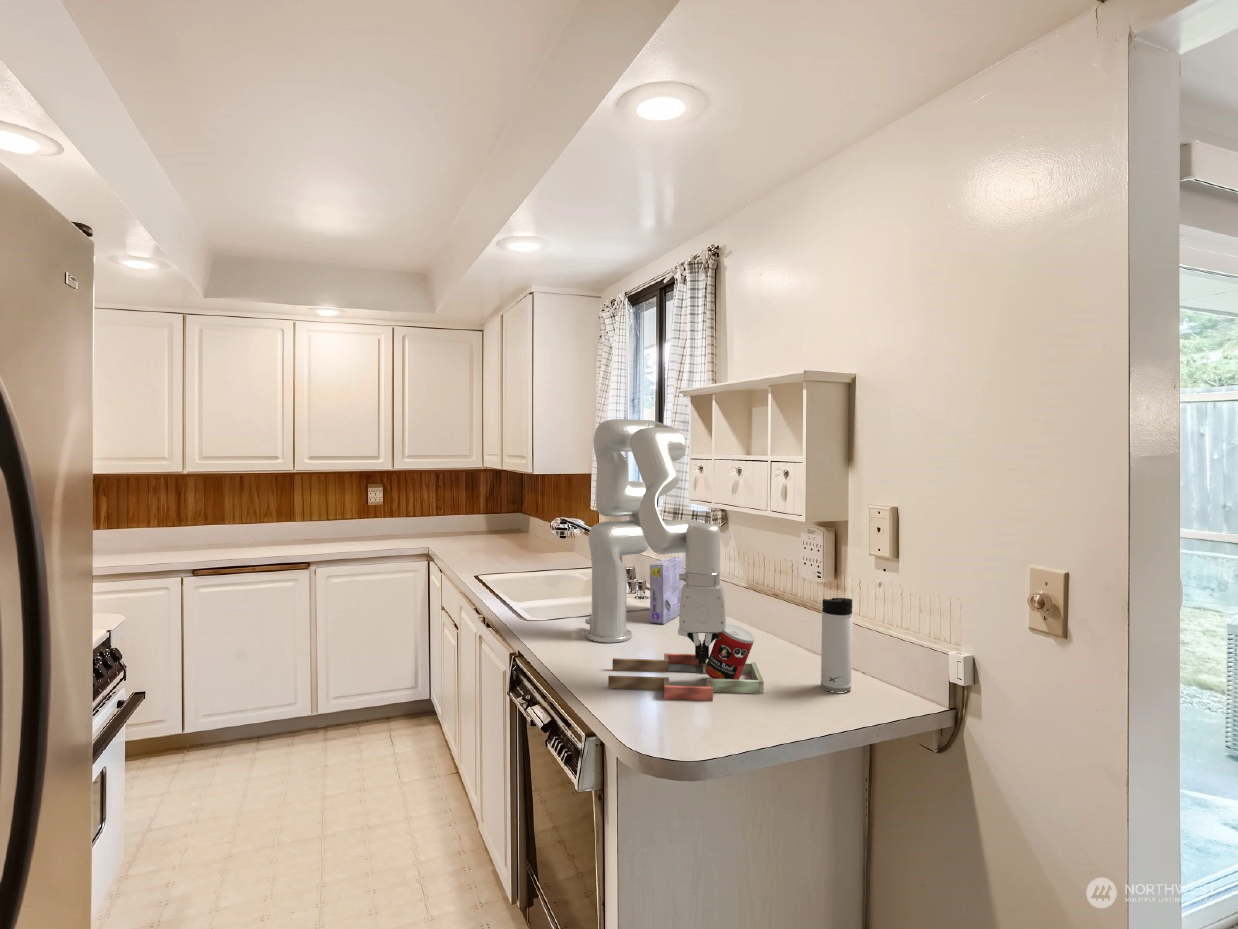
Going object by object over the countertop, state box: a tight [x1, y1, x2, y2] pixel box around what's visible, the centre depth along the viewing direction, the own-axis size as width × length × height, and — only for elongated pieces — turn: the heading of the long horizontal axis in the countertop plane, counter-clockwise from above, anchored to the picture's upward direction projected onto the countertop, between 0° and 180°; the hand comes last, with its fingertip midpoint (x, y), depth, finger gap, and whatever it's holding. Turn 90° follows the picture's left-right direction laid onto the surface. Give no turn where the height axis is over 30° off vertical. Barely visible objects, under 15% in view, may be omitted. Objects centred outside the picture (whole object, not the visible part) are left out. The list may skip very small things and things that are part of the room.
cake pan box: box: [649, 556, 685, 625], centre depth 207 cm, size 19×5×18 cm, turn 155°
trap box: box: [607, 652, 765, 702], centre depth 151 cm, size 33×23×2 cm
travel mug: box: [820, 597, 853, 692], centre depth 146 cm, size 6×7×20 cm
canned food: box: [705, 623, 755, 680], centre depth 149 cm, size 8×8×11 cm
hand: (701, 662), depth 150 cm, fingers closed
